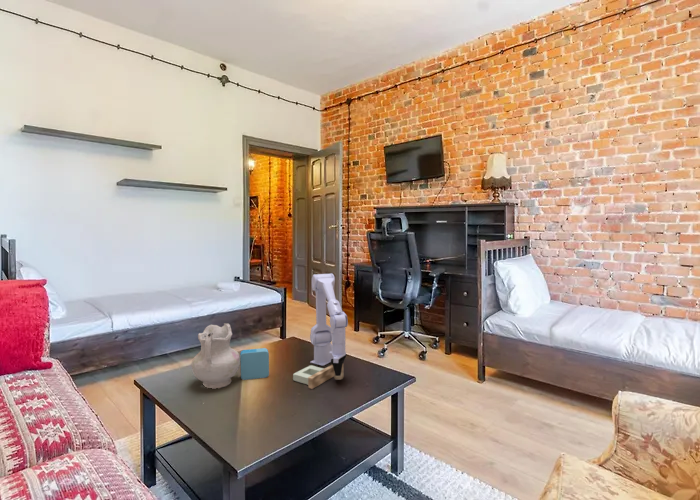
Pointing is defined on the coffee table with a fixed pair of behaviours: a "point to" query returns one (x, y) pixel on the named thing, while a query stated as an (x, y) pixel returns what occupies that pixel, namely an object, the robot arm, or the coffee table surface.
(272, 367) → the coffee table surface
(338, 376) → the birch dowel
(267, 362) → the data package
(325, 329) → the robot arm
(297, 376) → the socket block
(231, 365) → the ceramic pitcher
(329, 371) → the oak wall
